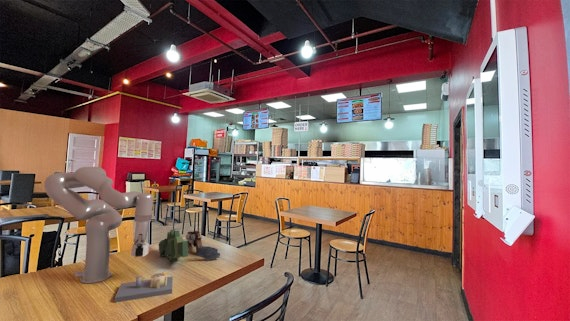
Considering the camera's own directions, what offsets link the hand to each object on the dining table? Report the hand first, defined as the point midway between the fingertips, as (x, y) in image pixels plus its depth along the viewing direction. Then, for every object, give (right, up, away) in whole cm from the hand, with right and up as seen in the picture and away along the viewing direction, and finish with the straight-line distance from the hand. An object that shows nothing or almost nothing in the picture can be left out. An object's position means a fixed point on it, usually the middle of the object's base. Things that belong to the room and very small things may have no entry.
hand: (140, 252), depth 122 cm
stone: (+26, -16, +27) cm, 41 cm away
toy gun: (+10, -15, +46) cm, 49 cm away
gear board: (+9, -14, -10) cm, 19 cm away
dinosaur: (+6, -15, +25) cm, 30 cm away
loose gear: (0, -1, 0) cm, 1 cm away
